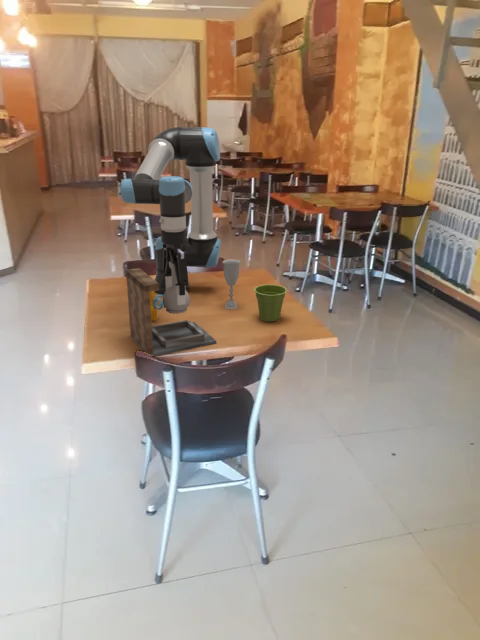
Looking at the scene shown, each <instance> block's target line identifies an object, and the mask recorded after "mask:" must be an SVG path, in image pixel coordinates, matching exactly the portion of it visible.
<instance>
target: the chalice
mask: <svg viewBox="0 0 480 640" xmlns="http://www.w3.org/2000/svg"><path fill="white" fill-rule="evenodd" d="M222 264H223V277H224V279H225V281H226V284H227V285H228V286H229V294H228V295H229V300H227V301H226V303H225V305H224V308H225V309H227V310H235V309H238V305H237V302H236V301H235V300H234V299H233V296H234V294H233V293H234V292H233V291H234V289H233V286H235V285H236V283H237V281H238V280H239V276H240V264H241V260H239V259H224V260H223V261H222Z"/></svg>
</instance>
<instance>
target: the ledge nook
mask: <svg viewBox="0 0 480 640" xmlns="http://www.w3.org/2000/svg"><path fill="white" fill-rule="evenodd" d="M125 270H126V271H125V275H126V286H127V287H126V288H127V291H126V292H127V300H128V301H127V302H128V303H127V304H128V313H129V314H128V315H129V318H128V319H129V328H130V329H129V331H130V337H131V338H132V339H133V341H134V342H135V343H136V344H137V346H138V347H139V348H140V349H141V350H142V352H143V351H144V352H146V353H148V354H150V355H153V356H154V357H157V356H164V355H168V354H172V353H177V352H182V351H187V350H191V349H197V348H200V346H202V347H205V346H206V347H207V346H210V345H211V346H212V345H215V344H217V340H216V339H215V338H214V337H213V336H212V335H210V334H209V333H208V332H207V331H205V330H204V329H203V328H202V327H201V326H200V325H199V324H197V323H196V322H195V321H191V320H188V319H184V320H180V321H179V320H178V321H174V322H169V323H162V324H156V325H152V321H151V309H150V291H157V290H159V283H158V282H156V281H155V278H154V279H153V277H151V276H150V275H149V274H148V273H147V272H145V271H144V270H143V269H141V267H139V268H129V269H125ZM196 347H197V348H196ZM144 352H143V353H144Z"/></svg>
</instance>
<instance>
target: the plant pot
mask: <svg viewBox="0 0 480 640" xmlns="http://www.w3.org/2000/svg"><path fill="white" fill-rule="evenodd" d="M253 292H254V293H255V296H256V300H257V307H258V313H259V319H260V320H262V321H264V322H277V321H279V320H280V318H281V312H282V308H283V302H284V298H285V296H286V293H287V292H288V289H287V288H286V287H285V286H283V285H278V284H261V285H257V286H255V287H254V288H253Z"/></svg>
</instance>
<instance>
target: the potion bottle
mask: <svg viewBox="0 0 480 640" xmlns="http://www.w3.org/2000/svg"><path fill="white" fill-rule="evenodd" d="M176 261H177V260H176ZM169 267H170V268H171V270H172V287H169V288H167V289H166V291H165V293H164V294H163V295H164V296H163V297H162V302H163V308H164V309H165V311H166V312H167V313H169V314H183V313H185V312H187V310H188V308H189V306H190V303H191V298H190V297H191V296H190V294H189V293H188V291H186V304H183V305H177V292H176V285H175V284H177V278H176V273H175V268H174V264H172V261H169Z"/></svg>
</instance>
